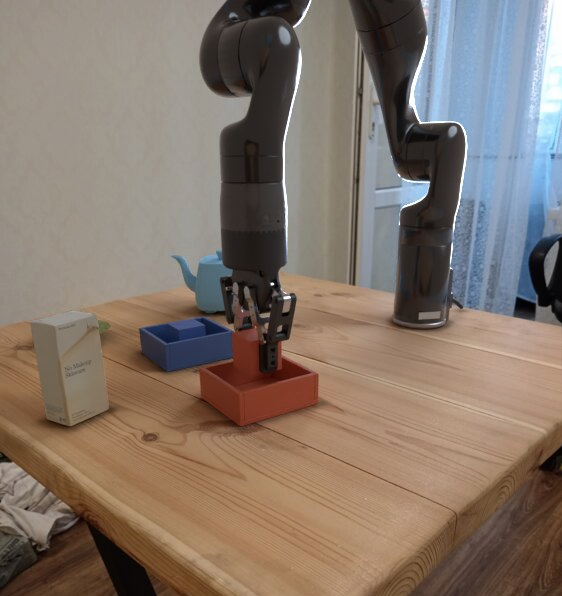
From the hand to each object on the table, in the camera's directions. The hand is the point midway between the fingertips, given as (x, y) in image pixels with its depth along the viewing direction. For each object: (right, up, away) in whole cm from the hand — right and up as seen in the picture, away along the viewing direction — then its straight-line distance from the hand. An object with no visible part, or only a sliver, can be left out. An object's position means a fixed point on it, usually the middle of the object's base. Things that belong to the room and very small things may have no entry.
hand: (257, 365), depth 71 cm
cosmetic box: (-22, -6, -1) cm, 22 cm away
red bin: (0, -4, +2) cm, 5 cm away
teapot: (-10, +12, +44) cm, 46 cm away
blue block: (-12, +3, +18) cm, 21 cm away
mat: (-32, +5, +26) cm, 41 cm away
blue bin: (-12, +2, +18) cm, 22 cm away
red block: (0, 0, 0) cm, 0 cm away
